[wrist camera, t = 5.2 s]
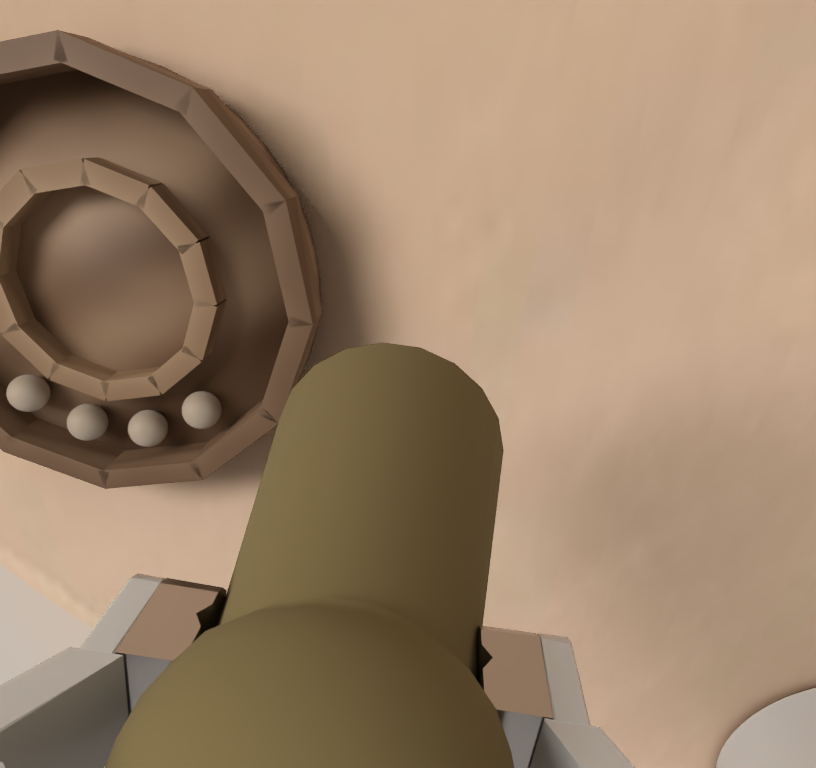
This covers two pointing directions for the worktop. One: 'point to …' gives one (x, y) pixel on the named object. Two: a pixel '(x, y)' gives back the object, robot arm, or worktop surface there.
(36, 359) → the tray
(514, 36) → the worktop surface
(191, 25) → the worktop surface
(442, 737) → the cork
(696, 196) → the worktop surface
